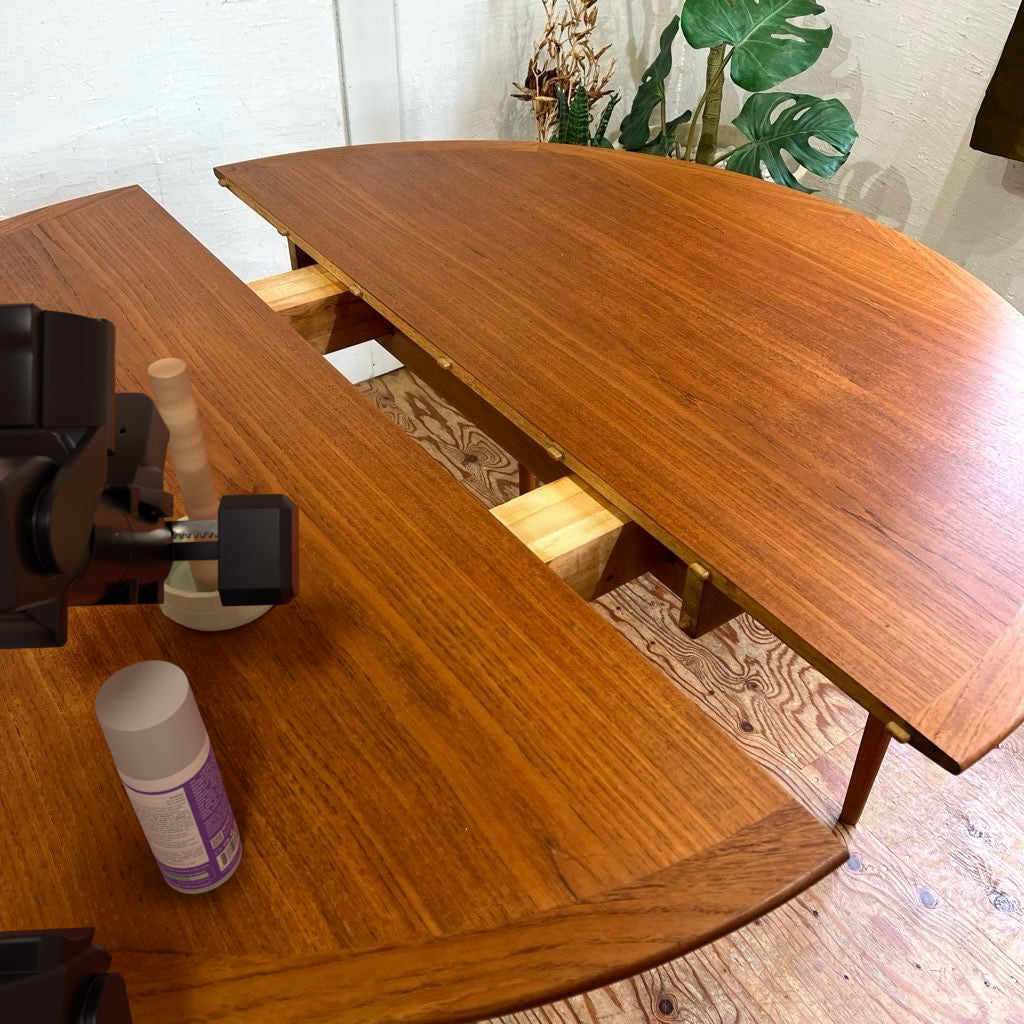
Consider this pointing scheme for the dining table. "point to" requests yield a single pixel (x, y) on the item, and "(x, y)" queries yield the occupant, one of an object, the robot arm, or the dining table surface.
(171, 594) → the bowl
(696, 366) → the dining table surface
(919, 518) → the dining table surface
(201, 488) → the pestle
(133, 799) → the container
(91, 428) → the robot arm
